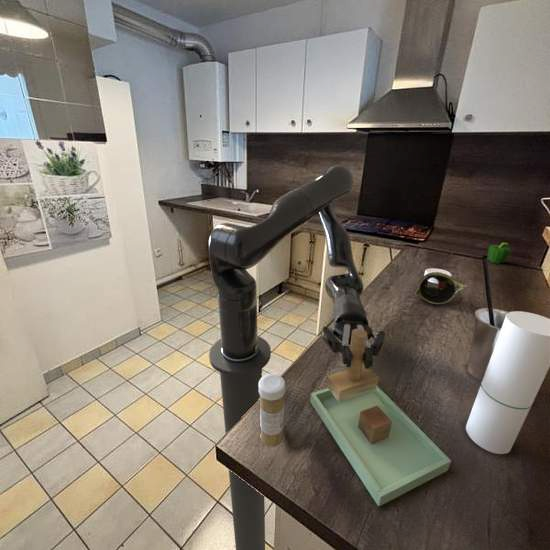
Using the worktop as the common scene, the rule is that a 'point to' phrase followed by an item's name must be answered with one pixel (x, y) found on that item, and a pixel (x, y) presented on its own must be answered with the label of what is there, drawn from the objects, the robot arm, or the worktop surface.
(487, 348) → the glass
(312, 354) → the worktop surface
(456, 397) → the worktop surface
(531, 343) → the cylindrical container
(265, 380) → the sprinkles bottle
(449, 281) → the pot
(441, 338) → the worktop surface
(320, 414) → the tray
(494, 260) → the bell pepper
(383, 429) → the cork cube
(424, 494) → the worktop surface
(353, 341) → the wooden stamp
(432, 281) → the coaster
